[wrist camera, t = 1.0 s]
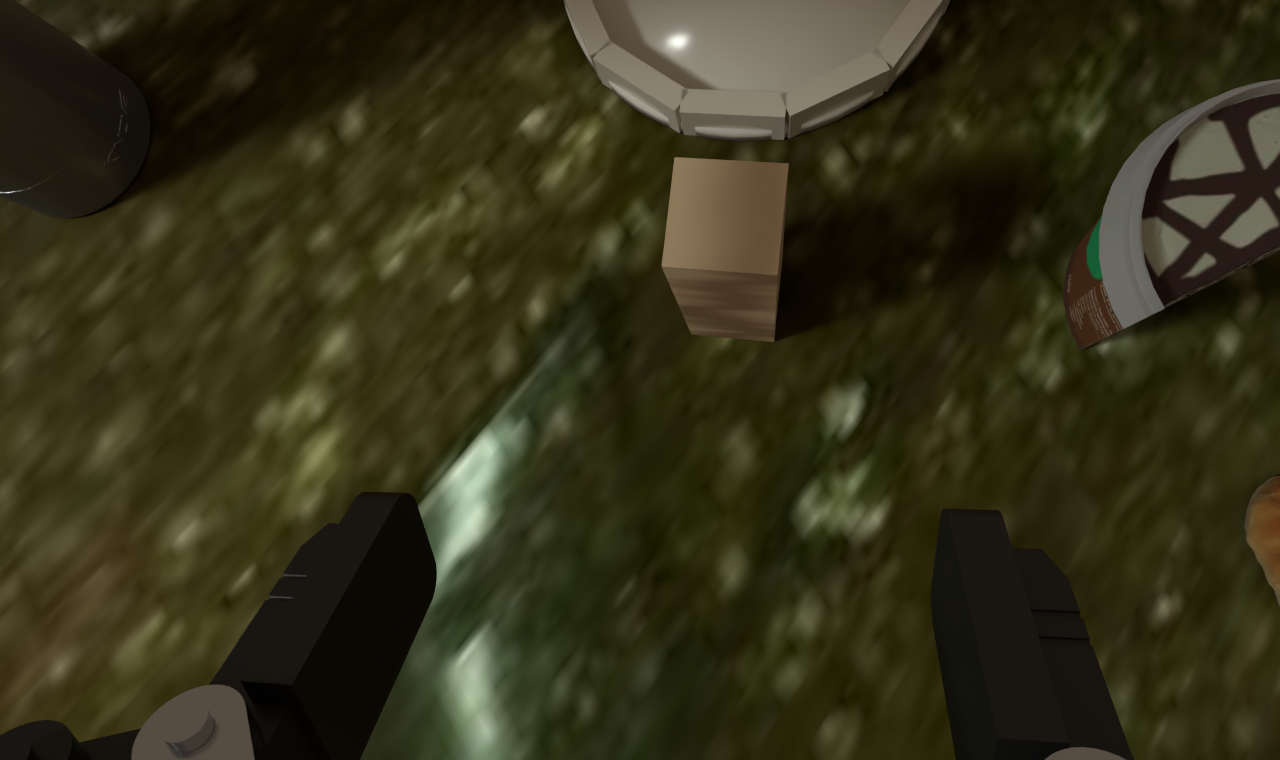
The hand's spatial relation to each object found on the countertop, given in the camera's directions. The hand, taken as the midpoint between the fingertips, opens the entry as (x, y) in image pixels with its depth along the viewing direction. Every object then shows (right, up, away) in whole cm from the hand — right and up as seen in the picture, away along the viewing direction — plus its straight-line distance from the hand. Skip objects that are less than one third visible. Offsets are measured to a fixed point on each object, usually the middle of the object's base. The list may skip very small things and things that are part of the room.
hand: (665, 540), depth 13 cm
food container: (+23, +9, +26) cm, 35 cm away
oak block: (+4, +6, +28) cm, 29 cm away
